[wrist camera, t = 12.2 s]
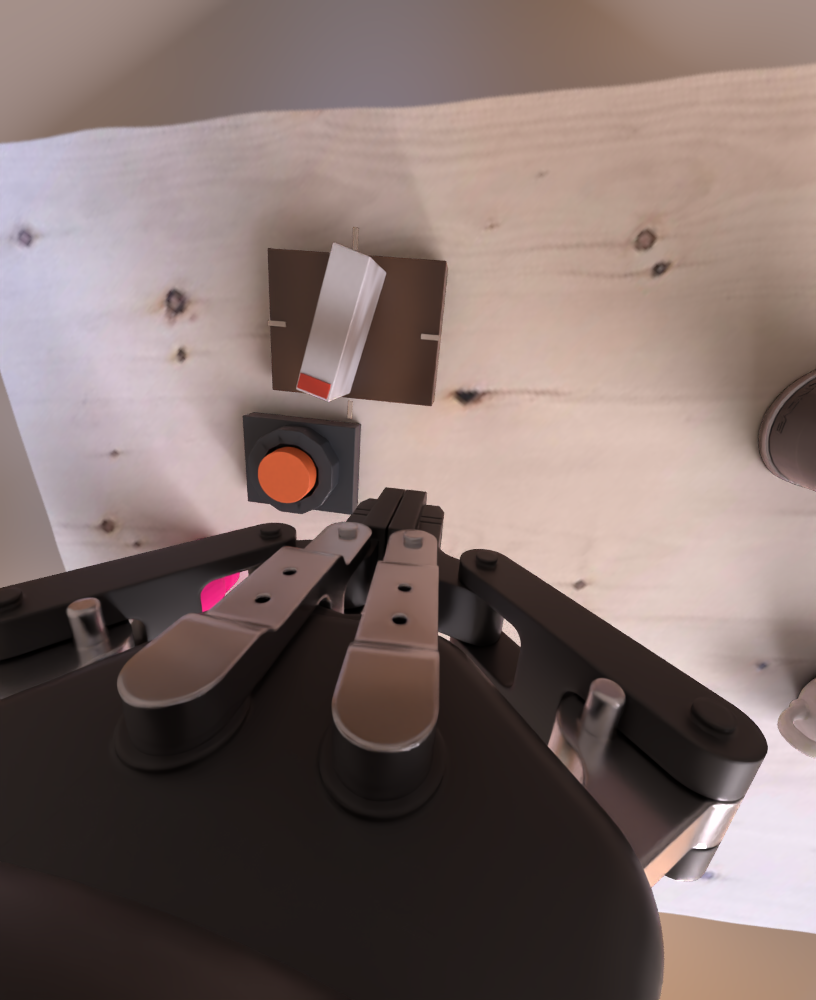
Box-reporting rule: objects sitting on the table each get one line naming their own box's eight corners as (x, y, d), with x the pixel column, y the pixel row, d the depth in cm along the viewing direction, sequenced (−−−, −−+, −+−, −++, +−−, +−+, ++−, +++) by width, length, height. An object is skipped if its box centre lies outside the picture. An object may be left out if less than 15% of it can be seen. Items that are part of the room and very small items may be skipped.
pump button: (317, 449, 34) (309, 454, 32) (316, 499, 35) (309, 506, 34) (265, 443, 34) (256, 448, 33) (268, 492, 36) (258, 499, 34)
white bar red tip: (355, 259, 29) (331, 240, 24) (387, 272, 29) (369, 255, 24) (321, 382, 32) (293, 389, 27) (349, 393, 32) (327, 402, 27)
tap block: (451, 244, 31) (450, 233, 28) (433, 420, 35) (430, 427, 32) (282, 232, 32) (263, 221, 29) (286, 404, 36) (270, 409, 34)
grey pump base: (361, 423, 36) (349, 432, 33) (357, 506, 39) (346, 523, 35) (253, 412, 37) (230, 419, 33) (257, 494, 40) (236, 509, 36)
